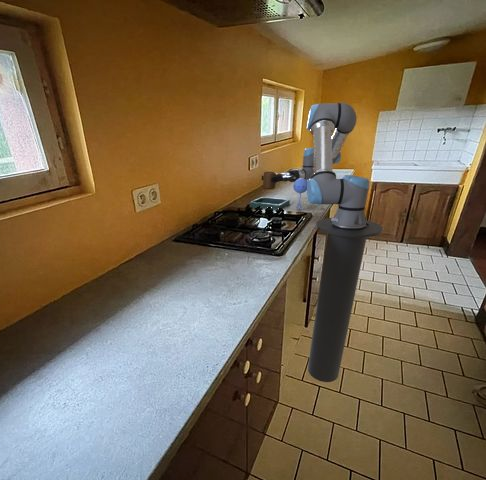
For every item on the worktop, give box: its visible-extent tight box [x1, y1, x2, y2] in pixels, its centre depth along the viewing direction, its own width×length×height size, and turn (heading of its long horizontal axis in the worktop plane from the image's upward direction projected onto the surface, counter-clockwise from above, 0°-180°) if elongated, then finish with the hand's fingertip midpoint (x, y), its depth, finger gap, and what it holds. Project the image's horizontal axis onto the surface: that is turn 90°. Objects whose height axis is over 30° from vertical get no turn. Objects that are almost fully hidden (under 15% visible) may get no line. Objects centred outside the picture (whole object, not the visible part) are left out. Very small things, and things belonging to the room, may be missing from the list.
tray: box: [249, 196, 291, 211], centre depth 192 cm, size 20×18×3 cm
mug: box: [262, 171, 284, 190], centre depth 185 cm, size 12×8×9 cm, turn 75°
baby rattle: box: [292, 178, 308, 211], centre depth 177 cm, size 9×9×18 cm
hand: (266, 178), depth 184 cm, fingers closed on mug, 9 cm apart
